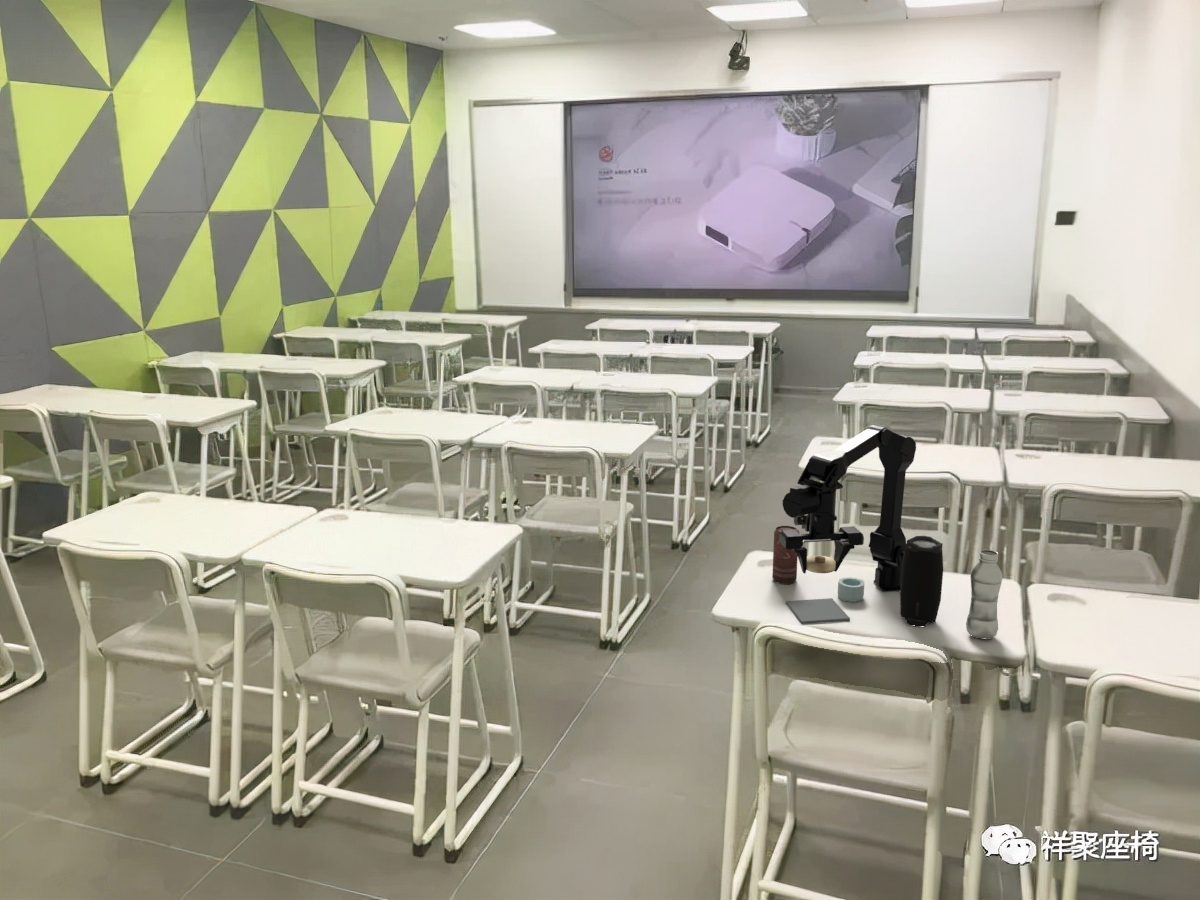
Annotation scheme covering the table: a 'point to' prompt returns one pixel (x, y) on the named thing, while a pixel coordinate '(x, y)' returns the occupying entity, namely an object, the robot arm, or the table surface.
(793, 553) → the can
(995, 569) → the plastic bottle
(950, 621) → the table surface
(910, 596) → the portable speaker
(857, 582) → the bowl
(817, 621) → the mat
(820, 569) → the lid
